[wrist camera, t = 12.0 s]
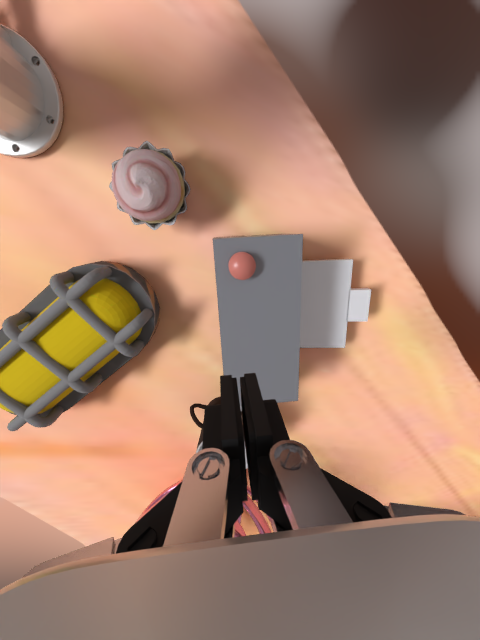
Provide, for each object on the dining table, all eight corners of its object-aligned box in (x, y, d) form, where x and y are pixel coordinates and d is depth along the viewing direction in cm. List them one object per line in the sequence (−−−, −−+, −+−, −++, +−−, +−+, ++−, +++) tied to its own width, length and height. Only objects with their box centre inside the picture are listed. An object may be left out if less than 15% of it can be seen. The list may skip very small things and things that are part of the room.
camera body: (214, 237, 37) (212, 239, 27) (283, 233, 38) (307, 234, 27) (225, 385, 45) (228, 430, 35) (282, 380, 46) (301, 422, 36)
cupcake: (108, 178, 34) (66, 157, 24) (168, 139, 33) (148, 102, 23) (150, 242, 37) (127, 246, 27) (206, 209, 36) (202, 200, 26)
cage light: (-82, 391, 33) (80, 241, 29) (-26, 362, 40) (109, 239, 36) (18, 456, 37) (171, 333, 33) (51, 418, 45) (179, 314, 41)
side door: (285, 260, 38) (375, 257, 36) (284, 259, 39) (371, 256, 38) (284, 349, 42) (364, 349, 41) (284, 345, 44) (361, 345, 42)
